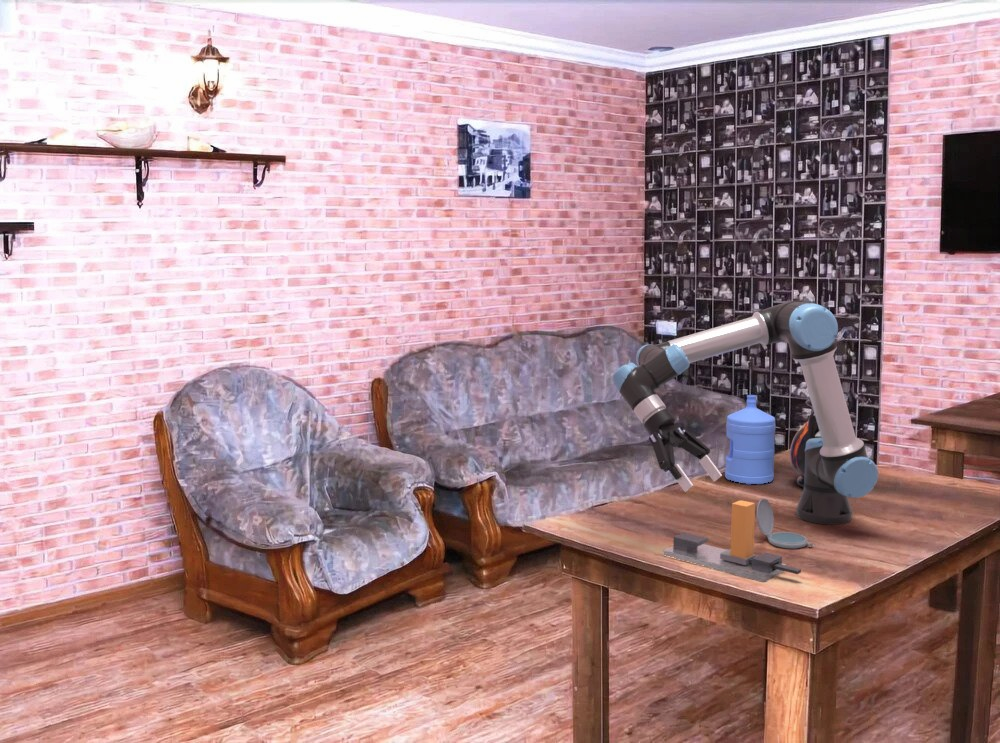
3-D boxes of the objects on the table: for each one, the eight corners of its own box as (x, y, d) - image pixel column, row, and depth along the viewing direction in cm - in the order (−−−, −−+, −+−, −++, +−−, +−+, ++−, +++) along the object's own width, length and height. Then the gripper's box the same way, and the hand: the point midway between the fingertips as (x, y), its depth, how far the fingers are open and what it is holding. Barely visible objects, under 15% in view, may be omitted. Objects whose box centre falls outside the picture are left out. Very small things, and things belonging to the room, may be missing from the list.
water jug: (781, 478, 327) (785, 395, 323) (759, 487, 316) (762, 401, 312) (739, 471, 338) (741, 390, 334) (716, 479, 326) (718, 396, 322)
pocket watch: (768, 494, 268) (823, 503, 259) (766, 533, 269) (821, 544, 260) (753, 503, 260) (809, 512, 251) (752, 543, 261) (807, 554, 252)
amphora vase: (810, 475, 332) (814, 392, 328) (871, 487, 316) (876, 400, 312) (775, 486, 318) (778, 400, 314) (837, 499, 302) (841, 409, 298)
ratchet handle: (804, 571, 234) (806, 512, 232) (794, 577, 230) (796, 517, 228) (730, 553, 247) (732, 497, 245) (720, 558, 243) (721, 502, 241)
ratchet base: (786, 570, 240) (786, 552, 239) (764, 582, 232) (764, 563, 231) (686, 545, 259) (687, 529, 258) (663, 555, 251) (663, 538, 250)
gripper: (672, 418, 266) (719, 482, 258) (617, 432, 248) (666, 501, 240) (690, 401, 261) (739, 466, 253) (635, 414, 243) (686, 484, 235)
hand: (704, 483), depth 247 cm, fingers open, 13 cm apart
